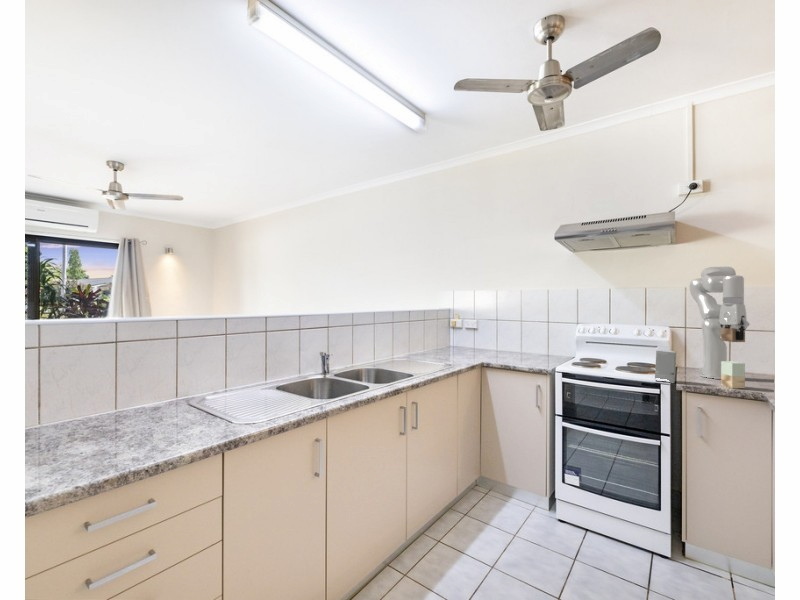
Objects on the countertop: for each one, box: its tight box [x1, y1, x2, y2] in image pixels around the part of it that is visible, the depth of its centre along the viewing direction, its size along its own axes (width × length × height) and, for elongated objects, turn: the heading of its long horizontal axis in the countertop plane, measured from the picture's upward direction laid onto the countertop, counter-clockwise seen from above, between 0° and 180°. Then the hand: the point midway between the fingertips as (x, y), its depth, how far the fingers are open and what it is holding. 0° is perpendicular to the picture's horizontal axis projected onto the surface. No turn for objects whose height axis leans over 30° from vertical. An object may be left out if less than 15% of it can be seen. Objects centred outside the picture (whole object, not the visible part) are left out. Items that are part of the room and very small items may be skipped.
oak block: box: [720, 374, 746, 389], centre depth 179 cm, size 6×6×6 cm
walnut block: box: [720, 328, 746, 343], centre depth 179 cm, size 6×6×6 cm
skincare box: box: [654, 349, 677, 384], centre depth 192 cm, size 8×7×16 cm
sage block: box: [721, 360, 746, 377], centre depth 179 cm, size 6×6×6 cm
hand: (733, 338), depth 179 cm, fingers closed on walnut block, 6 cm apart
